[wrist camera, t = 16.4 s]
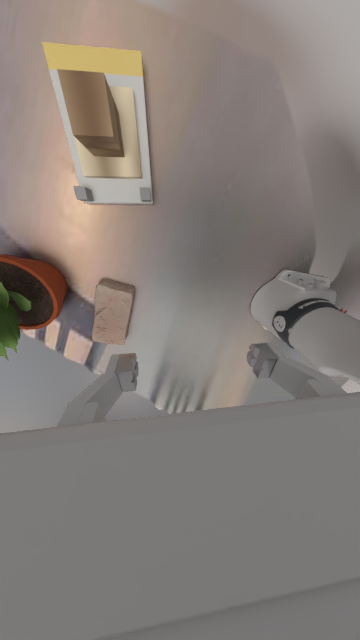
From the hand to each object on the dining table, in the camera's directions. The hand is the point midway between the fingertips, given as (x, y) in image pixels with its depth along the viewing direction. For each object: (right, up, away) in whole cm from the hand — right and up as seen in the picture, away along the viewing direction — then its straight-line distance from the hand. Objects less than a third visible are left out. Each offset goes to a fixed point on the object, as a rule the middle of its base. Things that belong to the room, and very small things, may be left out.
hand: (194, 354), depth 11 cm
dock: (-12, +32, +16) cm, 38 cm away
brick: (-19, +5, +32) cm, 37 cm away
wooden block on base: (-12, +30, +13) cm, 35 cm away
